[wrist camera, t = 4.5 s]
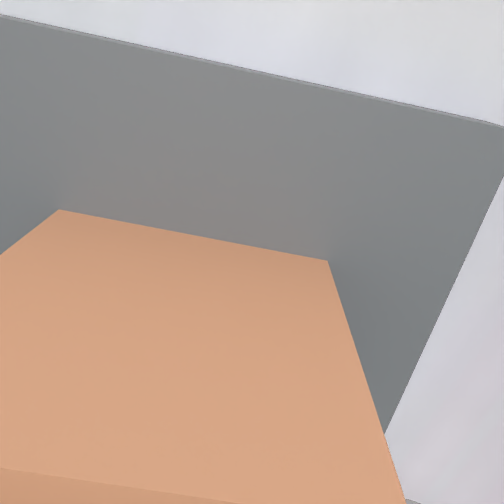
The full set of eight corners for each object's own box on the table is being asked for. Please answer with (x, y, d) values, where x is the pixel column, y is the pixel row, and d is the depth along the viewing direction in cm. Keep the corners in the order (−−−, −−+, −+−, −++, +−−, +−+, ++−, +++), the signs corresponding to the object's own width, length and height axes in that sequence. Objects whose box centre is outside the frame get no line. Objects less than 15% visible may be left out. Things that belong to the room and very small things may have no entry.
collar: (327, 260, 10) (415, 528, 4) (270, 446, 12) (278, 765, 7) (59, 209, 9) (-230, 433, 4) (56, 412, 12) (-120, 723, 6)
